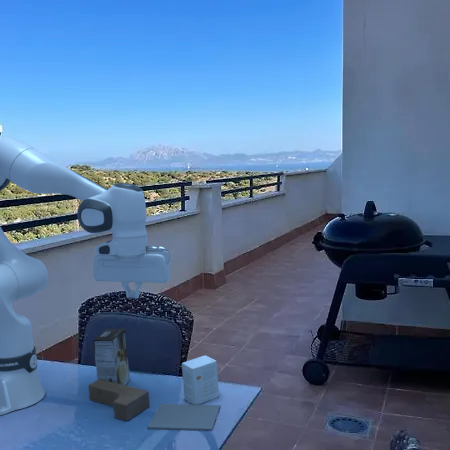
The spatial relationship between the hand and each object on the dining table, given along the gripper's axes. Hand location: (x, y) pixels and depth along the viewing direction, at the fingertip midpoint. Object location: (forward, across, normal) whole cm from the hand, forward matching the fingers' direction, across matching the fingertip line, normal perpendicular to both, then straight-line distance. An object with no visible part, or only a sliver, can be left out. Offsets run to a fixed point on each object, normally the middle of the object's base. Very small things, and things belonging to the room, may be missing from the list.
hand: (132, 297), depth 142 cm
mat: (+28, -15, +8) cm, 33 cm away
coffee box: (+30, +10, -9) cm, 33 cm away
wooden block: (+27, -3, +7) cm, 28 cm away
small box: (+29, -17, -3) cm, 34 cm away
